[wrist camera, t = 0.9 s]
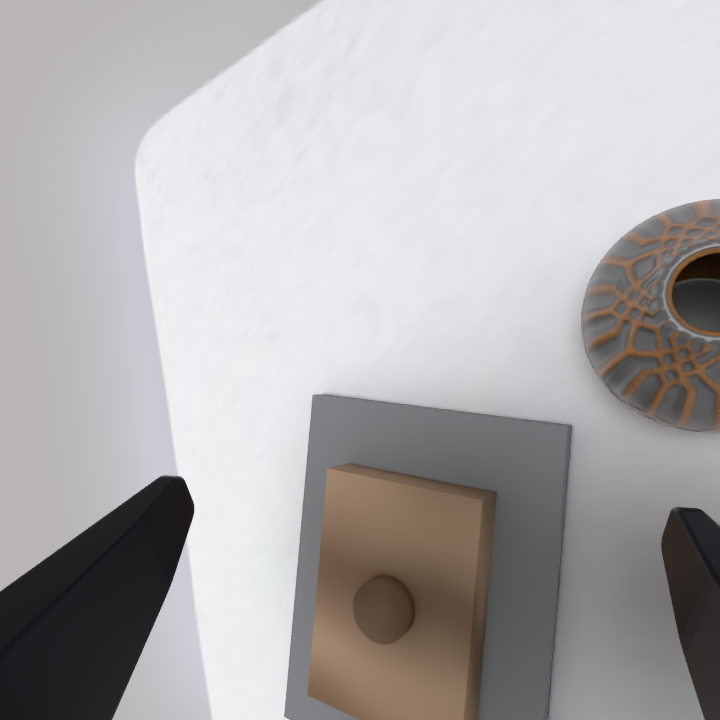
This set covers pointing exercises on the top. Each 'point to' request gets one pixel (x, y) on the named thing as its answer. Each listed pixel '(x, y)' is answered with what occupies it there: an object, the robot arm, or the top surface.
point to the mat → (510, 537)
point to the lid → (401, 596)
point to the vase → (661, 318)
